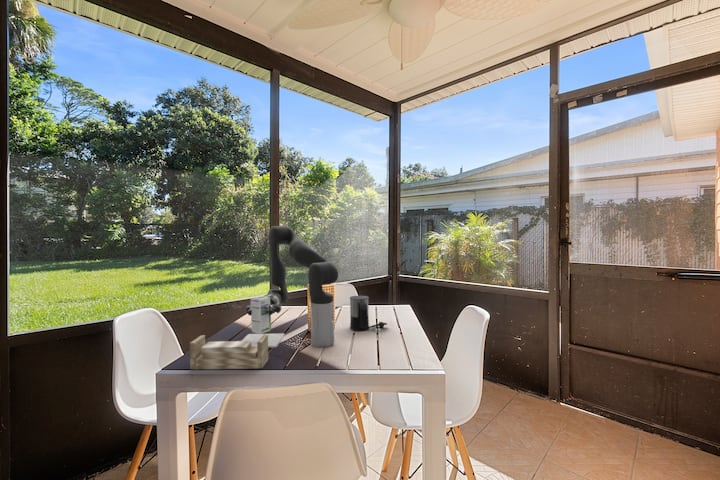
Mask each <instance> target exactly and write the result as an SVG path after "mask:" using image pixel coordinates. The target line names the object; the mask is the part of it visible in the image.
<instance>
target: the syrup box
mask: <svg viewBox="0 0 720 480" xmlns="http://www.w3.org/2000/svg"><path fill="white" fill-rule="evenodd" d="M250 305H251V315H250V318H251V332H252V333H253V334H266V333H267V332H271V330H272V321H271V320H272V315H269V310H270V297H268V296H267V295H260V296H255V297H251V298H250Z"/></svg>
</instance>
